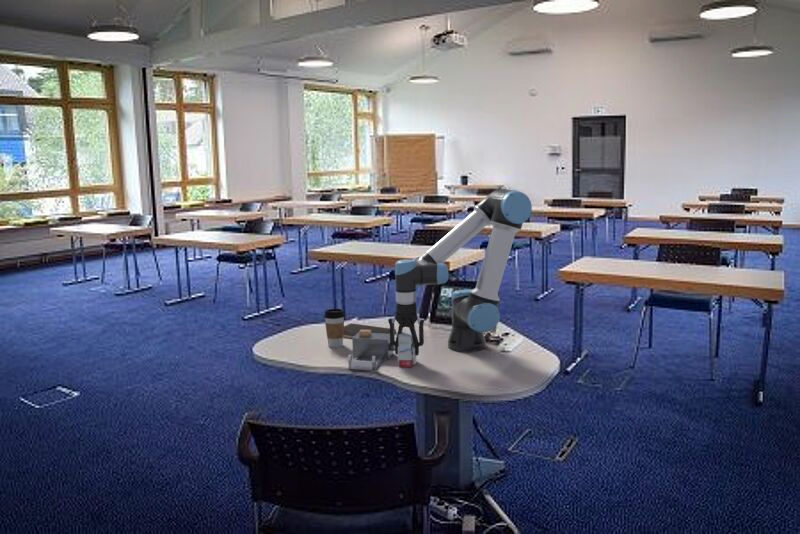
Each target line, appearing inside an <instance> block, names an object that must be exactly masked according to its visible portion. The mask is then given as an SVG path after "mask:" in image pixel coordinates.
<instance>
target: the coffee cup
mask: <svg viewBox="0 0 800 534" xmlns="http://www.w3.org/2000/svg"><path fill="white" fill-rule="evenodd" d="M323 315H324V316H323V318H324V320H325V321H324V323H325V324H324V325H325V331H326V338H327V346H328V347H329V348H334V349H335V348H340V347H341V348H342V347H343V345H344V337H343V331H344V326H345V320H344V318H345V312H344V310H343V309H342V308H330V309H326V310H324V314H323Z"/></svg>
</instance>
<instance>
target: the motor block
mask: <svg viewBox="0 0 800 534" xmlns="http://www.w3.org/2000/svg"><path fill="white" fill-rule="evenodd" d="M351 340H352V343H351V344H352V359H354V358H355V357H356V356H357V355H360V357H361V359H362V360H372V356H376V361H377V360H378V359H379V357H380V356H383V361H389V360H390V359H391V357H392V356H393V355H394V352H395V346H394V345H391V344H390V334H383V333H371V330H363V329H361V330H360V331H359V332H358V333H357V334H356V335H355V336H354V337H353V338H351ZM361 359H360V360H361Z"/></svg>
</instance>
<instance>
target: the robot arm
mask: <svg viewBox="0 0 800 534" xmlns="http://www.w3.org/2000/svg"><path fill="white" fill-rule="evenodd" d="M530 199H531V198H529V196H528V195H526V193H524V192H522V191H520V190H515V189H506V188H497V189H496V190H493V191H492V192H491V193H489V194H488V195H487V196H485V197H484V198H483V199H482V200H481V201H479V202H478V203H477V204H476V205H475V206H474V207H473V211H472V212H471V213H470V214H468V215H467V216H466V217H465V218H464V219H463V220H462V221H460V222H459V223H458V224H457V225H456V226H454V227H453V228H452V229H451V230H450V231H449V232H448V233H447V234H446V235H444V236H443V237H442V238H441V239H440V240H439V241H437V242H435V244H434V245H433V246H432V247H430V248H429V249H428V250H427V251H426V252H424V253H423V254H421V256H418V257H414V258H413V259H399V260H397V261H396V262H395V267H394V279H395V302H396V303H395V315H394V316H393V317H392V316H391V317H388V320H387V321H388V324H389V328H390V344H391V345H394V346H395V351H394V353H395V355H397V365H399V339H398V335H399V334H401V333H402V330H403V329H404V328H409V331H411V335H412V338H413V342H414V346H413V366H416V364H417V356H419V354H420V347H422V346H423V345H424V344H425V341H424V340H425V338H424V337H425V336H424V335H425V334H424V324H425V321H426V319H425V318H421V317H419V316H418V312H417V286H428V285H442V284H446V283H447V282H448V280H449V269H448V265H447V264H446V263H445V262H446V261H447V260H448V259H450V258H451V256H453V255H454V254H456V252H458V251H459V250H460V249H462V247H463V246H465V245H466V244H467V243H468V242H469V241H471V239H472V238H474V237H475V236H476V235H477V234H479V233H480V232H481V231H482V230H483V229H484V228H486V227H487V226H489V227H490V226H492V229H491V233H490V236H489V240H488V244H487V247H486V251H485V254H484V257H483V260H482V264H481V268H480V271H479V274H478V278H477V282H476V285H475V288H473V289H460V290H455V291H453V292H452V294H451V299H450V300H451V330H450V333H449V336H448V340H447V347H448V349H450V350H452V351H457V352H463V353H464V352H465V353H466V352H468V353H469V352H471V353H472V352H478V351H481V350H484V349H485V348H486V346H487V345H486V343H487V342H486V338H485V335H484V333H488V332H490V331H491V330H494V328H496V326H498V324H499V322H500V319H501V318H500V316H501V314H500V310H499V309H498V308H499V304H500V301H501V300H500V298H499V295H498V293H499V290H500V287H501V283H502V280H503V276H504V273H505V271H506V270H505V269H506V266H507V263H508V259H509V257H510V252H511V251H512V245H513V243H514V239H515V236H516V233H518V232H520V231H522V227H523V224H524V222H526V221H527V220H528V219H530V217H531V215H532V211H533V210H532V209H533V206H532V201H531V200H530ZM396 322H397V323H398V330H397V332H396V333H397V334H396V333H395V329H396V328H395V323H396ZM416 322H417V324H418V335H417V332H416V331H417V330H416V326H415V323H416ZM395 334H396V338H395Z"/></svg>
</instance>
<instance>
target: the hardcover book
mask: <svg viewBox="0 0 800 534" xmlns="http://www.w3.org/2000/svg"><path fill="white" fill-rule="evenodd" d="M361 329H363V330H371V333H383V334H390V327H382V326H376V325H375V326H374V325H368V324H367V325H366V324H360V323H353V322H352V323H349V324H346V325H344V331H343V338H348V339H352V338H353V337H354V336H355V335H356V334H357V333H358V332H359V331H360V330H361ZM394 329H395V334H396V333H397V330H396V328H394Z"/></svg>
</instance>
